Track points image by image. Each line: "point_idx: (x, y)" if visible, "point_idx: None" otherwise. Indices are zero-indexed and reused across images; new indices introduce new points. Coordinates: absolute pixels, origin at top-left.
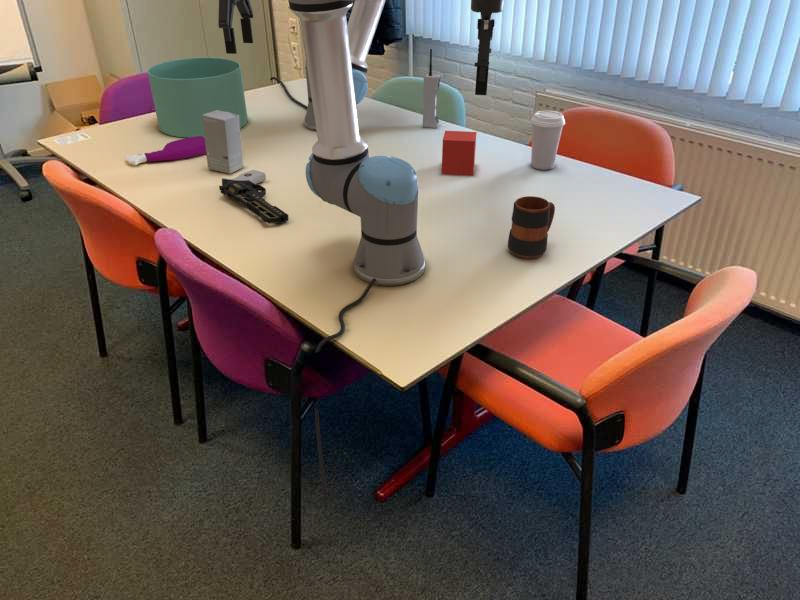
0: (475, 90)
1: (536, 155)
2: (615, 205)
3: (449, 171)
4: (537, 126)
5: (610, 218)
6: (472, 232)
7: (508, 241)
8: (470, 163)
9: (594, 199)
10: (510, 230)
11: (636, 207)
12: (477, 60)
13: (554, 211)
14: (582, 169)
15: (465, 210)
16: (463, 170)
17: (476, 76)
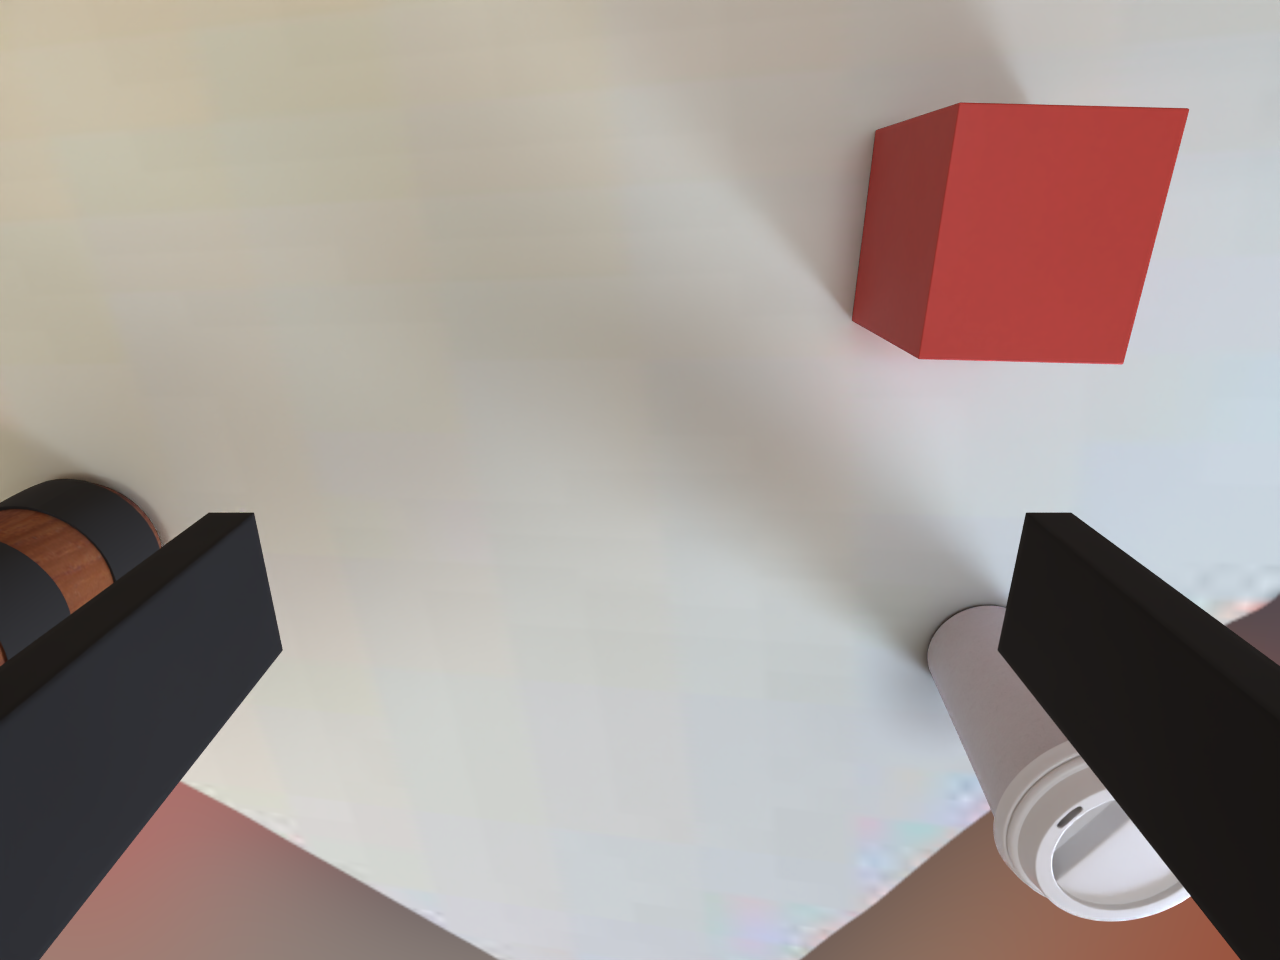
0: (170, 542)
1: (969, 656)
2: (576, 851)
3: (875, 180)
4: (1042, 754)
5: (461, 823)
6: (190, 330)
7: (38, 488)
8: (874, 311)
9: (621, 797)
10: (30, 508)
11: (570, 905)
12: (1256, 708)
13: None
14: (933, 793)
15: (411, 291)
16: (866, 266)
17: (2, 668)
